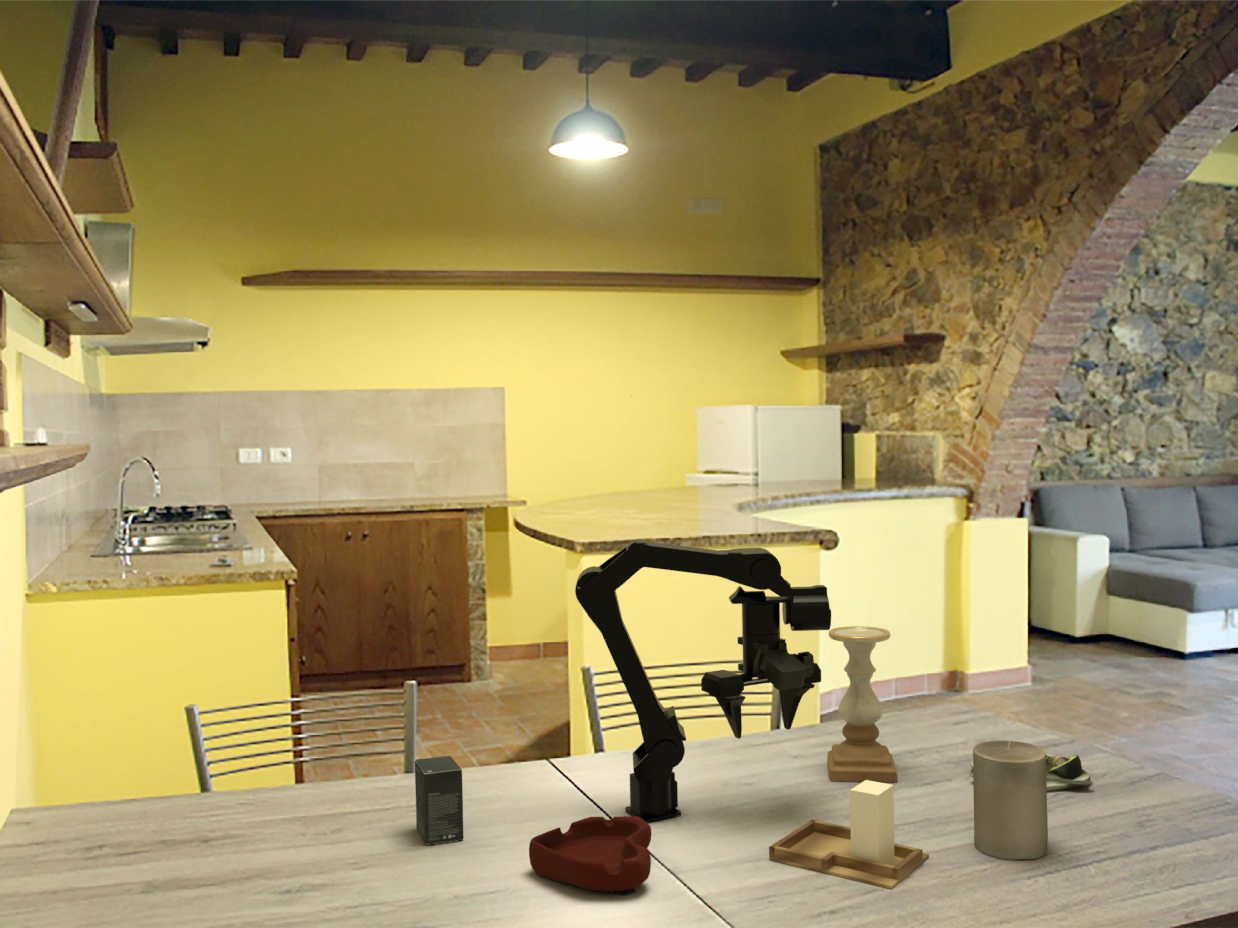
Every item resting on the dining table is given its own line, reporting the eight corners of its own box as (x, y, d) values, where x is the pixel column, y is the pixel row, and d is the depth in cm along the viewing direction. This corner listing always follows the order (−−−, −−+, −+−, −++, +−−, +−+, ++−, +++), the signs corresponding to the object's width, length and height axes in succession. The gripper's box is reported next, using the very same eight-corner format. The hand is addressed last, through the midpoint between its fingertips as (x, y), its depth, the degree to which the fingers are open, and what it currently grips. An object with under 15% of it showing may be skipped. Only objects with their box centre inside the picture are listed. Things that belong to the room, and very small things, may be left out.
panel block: (851, 863, 153) (850, 789, 153) (866, 851, 157) (865, 779, 157) (879, 870, 151) (878, 795, 150) (894, 857, 155) (893, 784, 154)
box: (464, 840, 166) (462, 768, 165) (425, 846, 164) (423, 773, 163) (453, 823, 173) (451, 753, 173) (415, 828, 171) (413, 758, 171)
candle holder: (826, 761, 200) (824, 625, 199) (891, 762, 198) (889, 625, 197) (829, 781, 189) (827, 637, 188) (897, 782, 187) (896, 637, 186)
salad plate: (994, 802, 178) (993, 772, 178) (944, 767, 196) (944, 740, 196) (1109, 793, 181) (1109, 764, 181) (1050, 760, 199) (1049, 733, 199)
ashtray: (536, 849, 162) (536, 814, 162) (652, 849, 162) (651, 813, 162) (521, 902, 145) (520, 863, 144) (651, 901, 144) (650, 862, 144)
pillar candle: (994, 829, 166) (992, 726, 165) (1060, 846, 159) (1058, 739, 158) (960, 849, 159) (958, 742, 158) (1028, 867, 152) (1026, 755, 151)
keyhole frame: (769, 859, 156) (769, 846, 156) (811, 831, 166) (811, 819, 166) (891, 888, 146) (891, 874, 146) (929, 857, 156) (928, 843, 156)
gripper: (740, 647, 163) (742, 756, 163) (843, 633, 172) (845, 736, 172) (698, 635, 173) (700, 737, 173) (798, 622, 181) (799, 719, 182)
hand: (763, 733), depth 175 cm, fingers open, 9 cm apart
